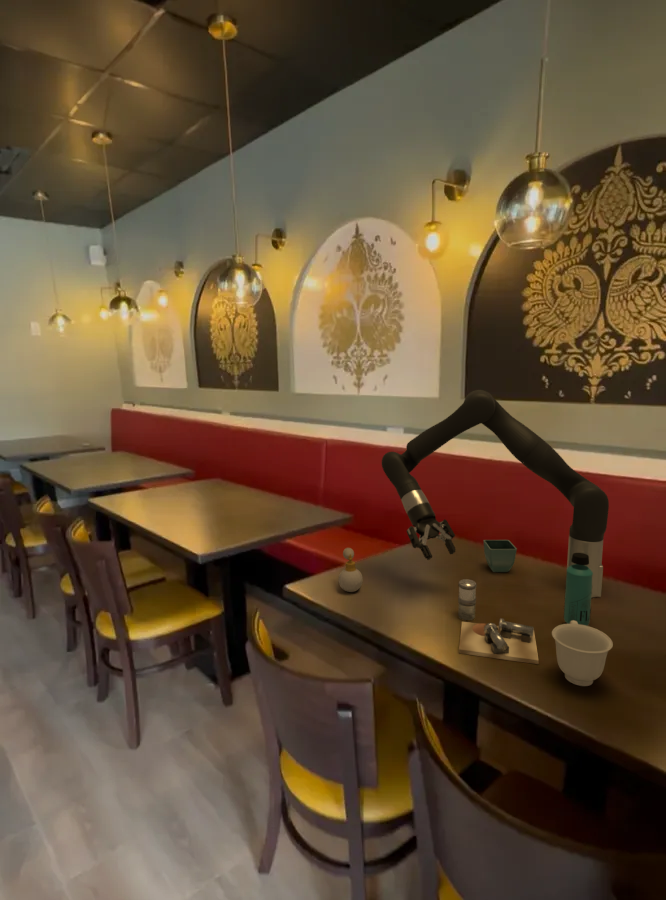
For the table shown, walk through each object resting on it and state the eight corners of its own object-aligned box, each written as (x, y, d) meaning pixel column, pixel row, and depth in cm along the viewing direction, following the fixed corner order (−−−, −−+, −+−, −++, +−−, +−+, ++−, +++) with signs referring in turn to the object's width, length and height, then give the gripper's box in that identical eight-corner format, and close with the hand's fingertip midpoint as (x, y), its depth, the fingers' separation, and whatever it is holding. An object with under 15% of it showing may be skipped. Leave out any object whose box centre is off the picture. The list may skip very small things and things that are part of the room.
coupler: (475, 613, 145) (476, 580, 144) (475, 621, 141) (476, 587, 139) (458, 611, 147) (459, 578, 145) (457, 619, 142) (458, 585, 141)
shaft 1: (483, 637, 131) (483, 623, 131) (497, 636, 131) (497, 622, 131) (494, 655, 123) (495, 640, 123) (509, 654, 124) (510, 639, 123)
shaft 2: (498, 636, 132) (498, 621, 131) (500, 629, 135) (501, 615, 134) (531, 643, 128) (532, 628, 127) (533, 636, 131) (534, 622, 131)
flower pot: (516, 574, 171) (517, 548, 169) (489, 575, 171) (490, 549, 170) (507, 564, 180) (508, 539, 178) (482, 564, 180) (482, 539, 178)
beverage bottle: (578, 635, 133) (583, 561, 130) (556, 623, 139) (561, 552, 136) (595, 628, 136) (601, 556, 133) (573, 618, 142) (578, 548, 139)
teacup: (597, 659, 123) (600, 619, 121) (616, 699, 109) (620, 655, 107) (543, 653, 126) (545, 614, 124) (554, 691, 111) (557, 648, 110)
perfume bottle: (346, 597, 157) (345, 559, 155) (330, 585, 165) (330, 549, 163) (367, 591, 160) (367, 554, 158) (351, 580, 169) (350, 545, 167)
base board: (533, 633, 135) (533, 629, 134) (538, 664, 121) (538, 659, 121) (461, 624, 140) (462, 620, 139) (458, 653, 126) (459, 648, 126)
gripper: (404, 505, 153) (428, 554, 145) (442, 498, 159) (467, 545, 151) (393, 517, 158) (416, 566, 150) (430, 510, 165) (454, 556, 157)
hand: (441, 555), depth 151 cm, fingers open, 8 cm apart
